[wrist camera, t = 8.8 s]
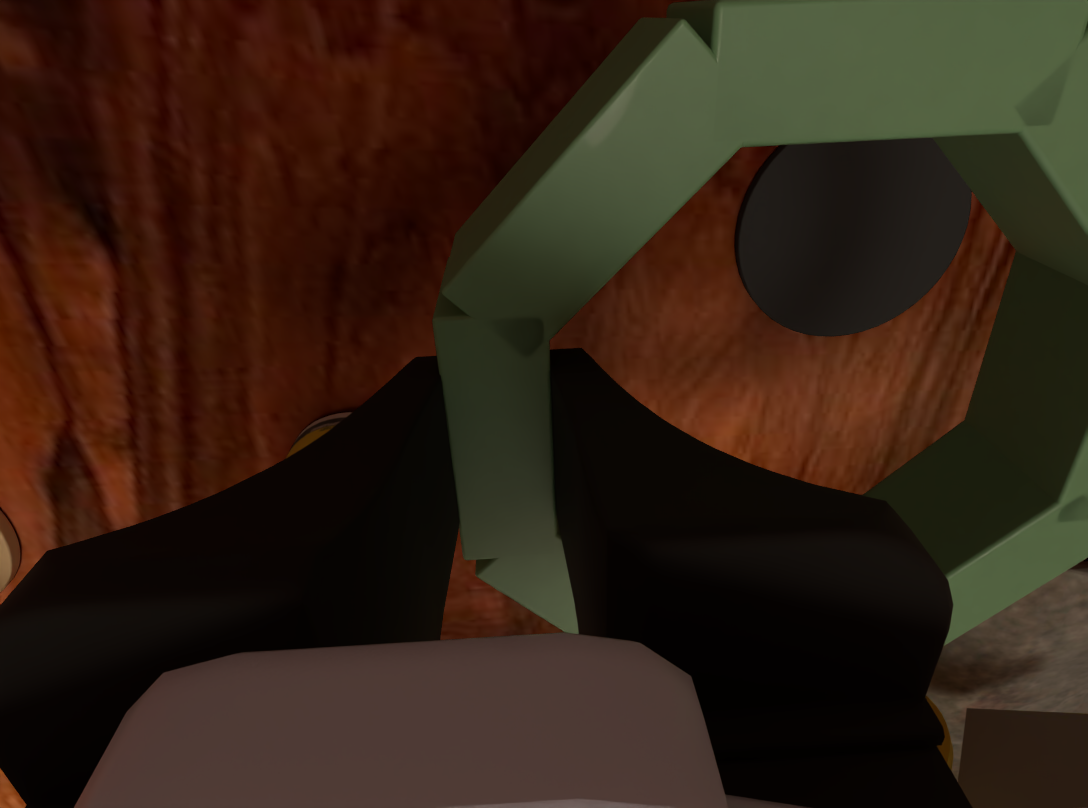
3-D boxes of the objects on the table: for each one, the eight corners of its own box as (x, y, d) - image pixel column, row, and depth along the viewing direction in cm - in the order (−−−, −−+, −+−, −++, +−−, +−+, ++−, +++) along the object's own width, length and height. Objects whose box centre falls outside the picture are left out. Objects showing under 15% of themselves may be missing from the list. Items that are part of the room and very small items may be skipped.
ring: (728, 652, 17) (764, 758, 15) (331, 377, 13) (290, 462, 10) (1193, 329, 13) (1349, 400, 11) (842, -219, 9) (967, -306, 7)
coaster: (821, 371, 24) (826, 376, 23) (688, 234, 21) (690, 238, 21) (1006, 219, 21) (1015, 222, 21) (881, 45, 19) (888, 46, 18)
